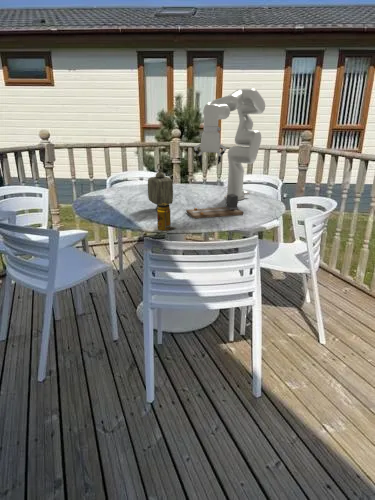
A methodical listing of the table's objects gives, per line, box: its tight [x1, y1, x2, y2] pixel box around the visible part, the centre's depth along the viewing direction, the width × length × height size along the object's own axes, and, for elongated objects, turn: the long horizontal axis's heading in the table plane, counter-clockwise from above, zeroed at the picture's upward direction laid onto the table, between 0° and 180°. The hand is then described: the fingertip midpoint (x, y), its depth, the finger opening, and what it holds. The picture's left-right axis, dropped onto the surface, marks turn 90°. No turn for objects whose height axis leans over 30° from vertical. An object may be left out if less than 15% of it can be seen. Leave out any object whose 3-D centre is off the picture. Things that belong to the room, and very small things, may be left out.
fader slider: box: [224, 194, 239, 210], centre depth 192 cm, size 5×6×7 cm
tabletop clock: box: [147, 163, 174, 211], centre depth 193 cm, size 14×9×25 cm, turn 28°
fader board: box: [185, 206, 244, 219], centre depth 191 cm, size 28×12×2 cm, turn 108°
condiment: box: [154, 203, 177, 233], centre depth 164 cm, size 7×8×12 cm
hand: (209, 163), depth 191 cm, fingers open, 9 cm apart
